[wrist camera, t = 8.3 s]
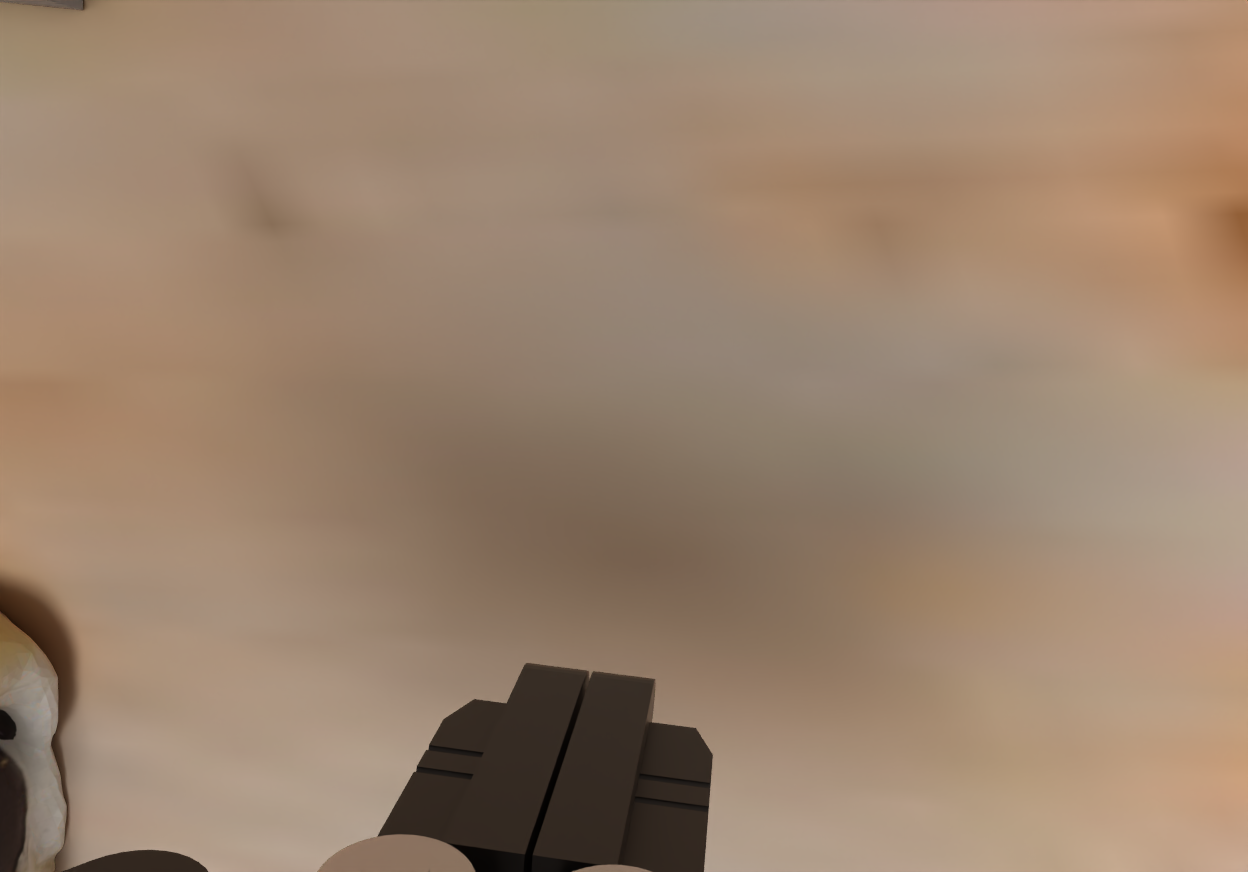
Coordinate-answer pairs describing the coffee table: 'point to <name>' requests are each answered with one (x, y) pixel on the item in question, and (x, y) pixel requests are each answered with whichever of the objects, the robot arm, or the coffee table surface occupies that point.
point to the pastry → (28, 756)
